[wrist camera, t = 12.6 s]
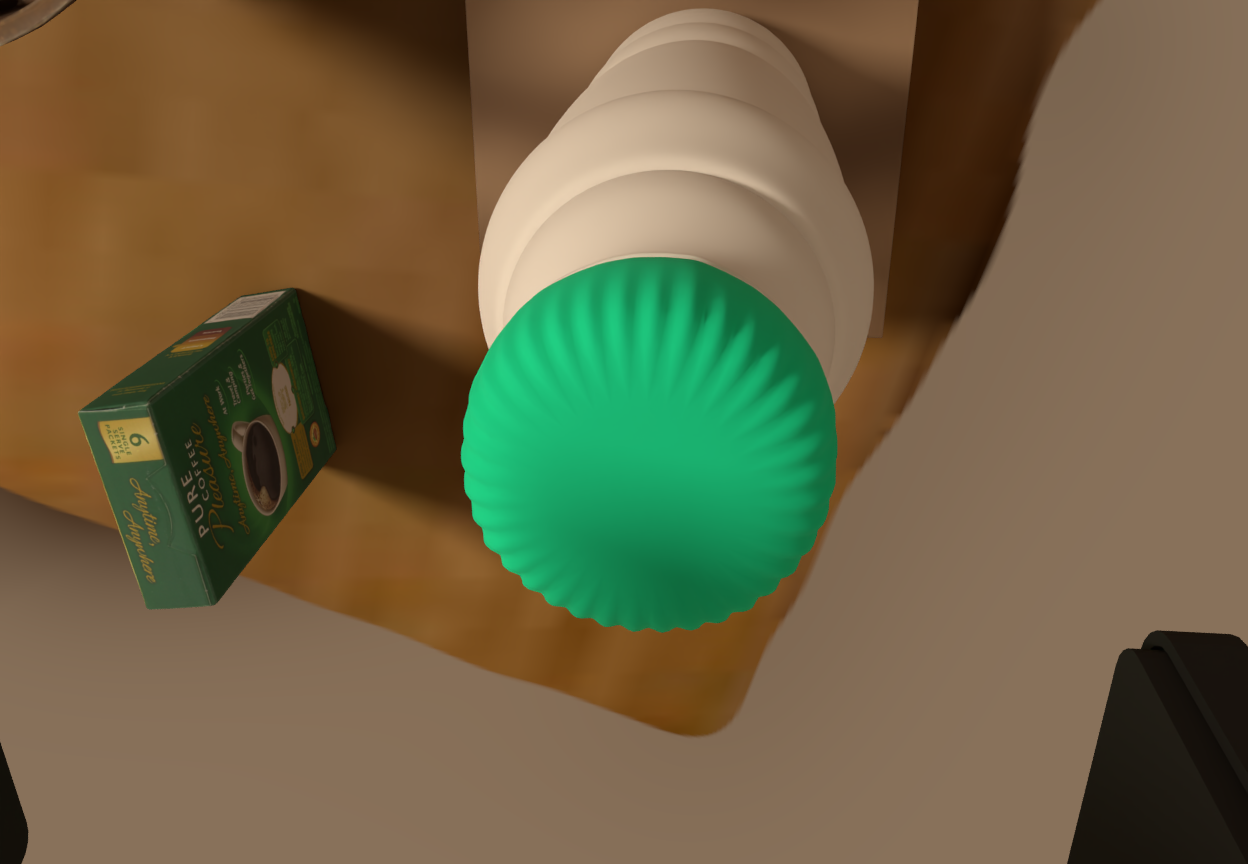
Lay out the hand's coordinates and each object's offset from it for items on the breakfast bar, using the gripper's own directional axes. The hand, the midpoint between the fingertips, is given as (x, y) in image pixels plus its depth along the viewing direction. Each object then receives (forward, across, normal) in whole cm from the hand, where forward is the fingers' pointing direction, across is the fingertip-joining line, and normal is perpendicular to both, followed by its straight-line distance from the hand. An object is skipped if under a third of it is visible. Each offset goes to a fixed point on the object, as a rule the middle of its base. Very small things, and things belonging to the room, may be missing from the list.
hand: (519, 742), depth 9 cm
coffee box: (+37, +17, +13) cm, 42 cm away
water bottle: (+30, -1, 0) cm, 30 cm away
